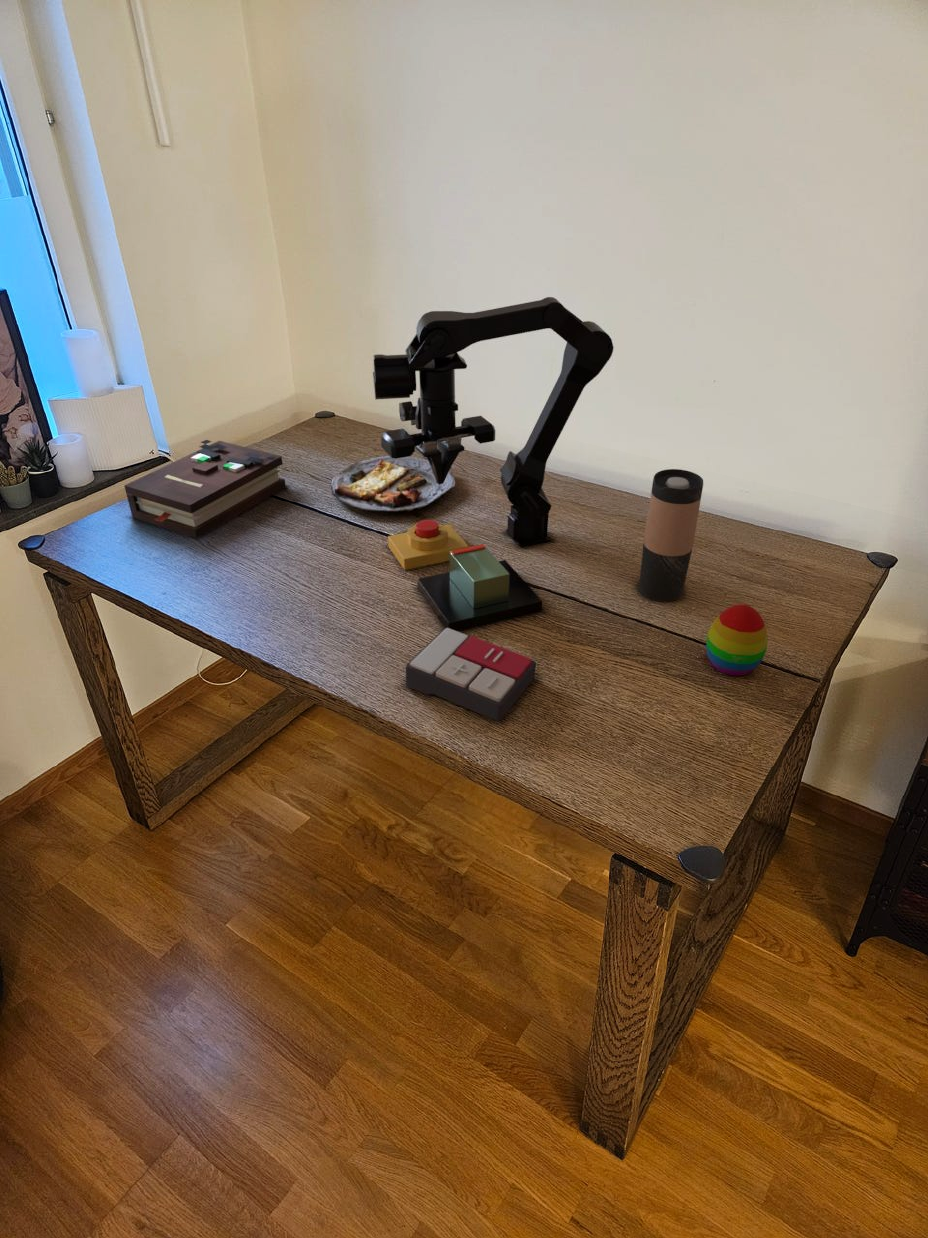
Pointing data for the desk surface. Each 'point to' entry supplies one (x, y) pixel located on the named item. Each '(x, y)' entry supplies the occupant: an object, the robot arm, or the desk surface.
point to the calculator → (470, 673)
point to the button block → (425, 547)
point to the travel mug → (669, 533)
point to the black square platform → (463, 616)
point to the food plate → (389, 484)
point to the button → (427, 529)
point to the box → (479, 576)
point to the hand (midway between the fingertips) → (440, 483)
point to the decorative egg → (737, 640)
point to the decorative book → (205, 488)
